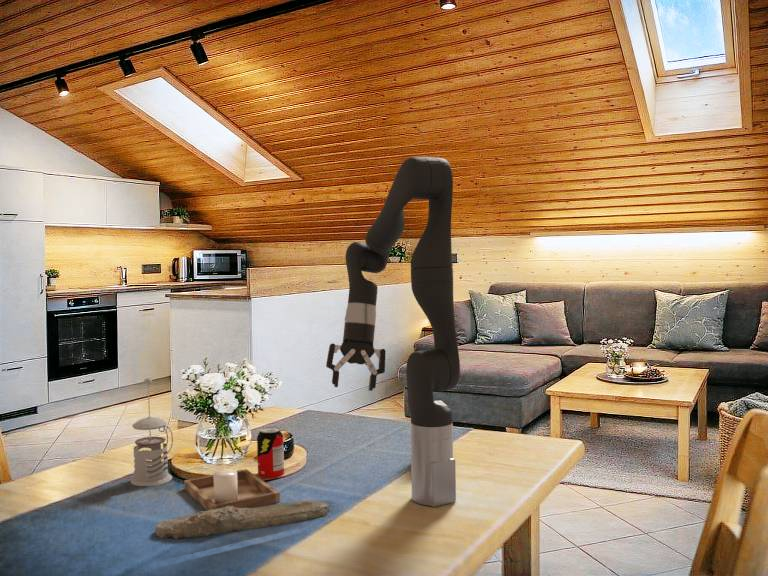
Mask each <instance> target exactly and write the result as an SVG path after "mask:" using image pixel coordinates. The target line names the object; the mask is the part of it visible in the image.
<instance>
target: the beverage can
mask: <svg viewBox="0 0 768 576" xmlns="http://www.w3.org/2000/svg"><path fill="white" fill-rule="evenodd" d="M256 443H257V444H256V446H257V448H256V449H257V451H256V452H257V455H256V456H257V475H258V474H259V476H258V478H263V479H276V478H279V477H283V476H284V474H285V454H284V451H285V450H284V448H285V447H284V434H283V433H282V431H281V428H280V427H278V426H265V427H262V428H260V429H259V433H258V435H257V437H256Z"/></svg>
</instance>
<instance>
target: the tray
mask: <svg viewBox="0 0 768 576" xmlns="http://www.w3.org/2000/svg"><path fill="white" fill-rule="evenodd" d="M236 471H237V483H238V500H233V501H228V502H223V503H218V504H215V503H214V478H213V474H212V475H206V476H202V477H201V476H199V477H195V478H190V479H185V480H183V484H184V485H183V486H184V487H183V489H184V490H185V492H186V493H187V494H189V495H190V496H191V497H192V498H193V499H195V501H196V502H197V503H198V504H199V505H201V506H202V507H203V508H204V510H205V511H208V510H213V509H218V508H224V507H226V506H233V507H234V508H256V507H261V506H268V505H273V504H277V503H279V502H281V498H280V497H281V492H280V491H278V490H277V489H275V488H274V487H273V486H271V485H270V484H268V483H267V482H266V481H264V480H263V479H261V477H259V476H256V475H255V474H254V473H252V472H251V471H249V470H248V469H247V468H245V469H244V468H243V469H239V470H236Z"/></svg>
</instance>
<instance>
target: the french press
mask: <svg viewBox="0 0 768 576" xmlns="http://www.w3.org/2000/svg"><path fill="white" fill-rule="evenodd" d="M143 383H144V384H145V385H146V384H147V393H148V394H147V395H148V396H147V399H148V401H147V402H148V417H144V418H141V419H138V420H137V421H136V422H134V423H132V425H131V426H132V428H133V429H135V430H138V431H151V430H152V431H153V430H157V429H158V431H159V432H160V433H164V432H165V433H166V438H165V437H164V436H151V432H149V436H145V437H142V438H138V439H136V440H135V441H134V444H135V446H134V447H133V463H134V465H133V467H134V468H133V469H134V470H133V471H134V476H133V478H131V481H130V483H131V485H134V486H139V487H151V486H158V485H159V486H160V485H161V484H165V483H168V482H170V481H172V479H173V476H172V475H171V474H170V473H169V466H168V465H169V464H168V463H169V462H168V457H169V456H168V454H170V451H171V450H172V447H173V443H174V435H173V432H172V430H171V428H170V427H169V426H167V424H168V422H167V421H166V420H164V419H163V418H160V417H152V416H151V412H150V411H151V410H150V409H151V408H150V385H149V384H153V379H152V378H151V377H150V378H149V377H146V378H145V379H144V381H143ZM161 428H163V430H161ZM167 429H168V430H169V432H170V434H171V444H170V448H169V450H168V442H169V435H168V430H167ZM165 441H166V443H165ZM161 444H162V445H161ZM141 449H144V450H141ZM145 449H150V450H145ZM162 460H163V461H162ZM162 465H163V466H162Z"/></svg>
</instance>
